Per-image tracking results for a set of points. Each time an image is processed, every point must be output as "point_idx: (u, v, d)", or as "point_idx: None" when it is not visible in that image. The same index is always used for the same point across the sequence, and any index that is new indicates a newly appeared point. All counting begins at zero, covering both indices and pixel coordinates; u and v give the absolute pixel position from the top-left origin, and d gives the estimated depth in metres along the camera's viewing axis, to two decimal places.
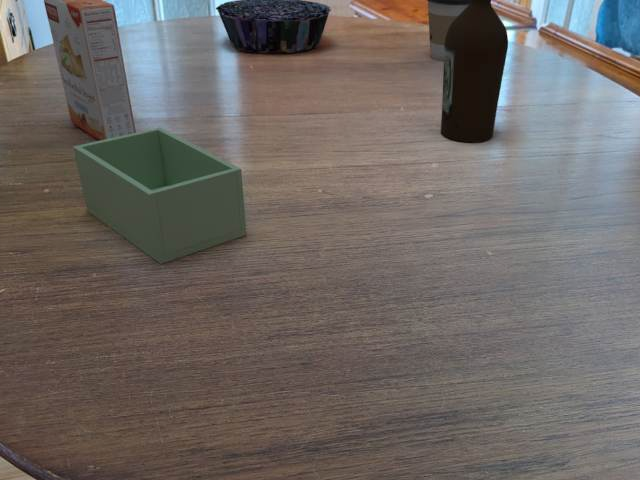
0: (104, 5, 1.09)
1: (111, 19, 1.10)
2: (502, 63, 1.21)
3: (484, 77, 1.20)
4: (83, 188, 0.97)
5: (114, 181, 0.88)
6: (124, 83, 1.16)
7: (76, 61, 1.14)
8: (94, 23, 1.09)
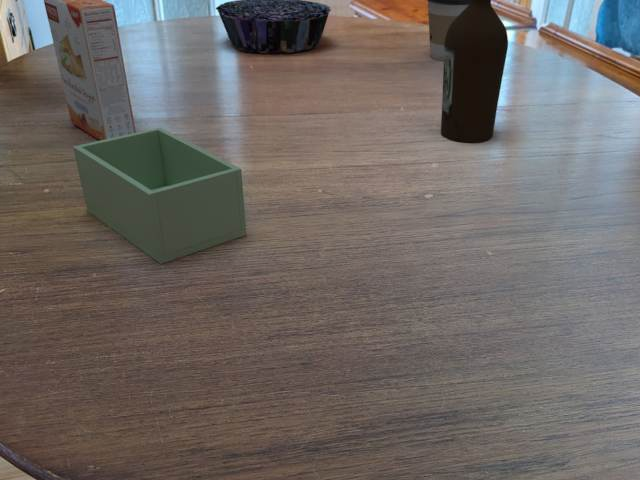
0: (104, 5, 1.09)
1: (111, 19, 1.10)
2: (502, 63, 1.21)
3: (484, 77, 1.20)
4: (83, 188, 0.97)
5: (114, 181, 0.88)
6: (124, 83, 1.16)
7: (76, 61, 1.14)
8: (94, 23, 1.09)
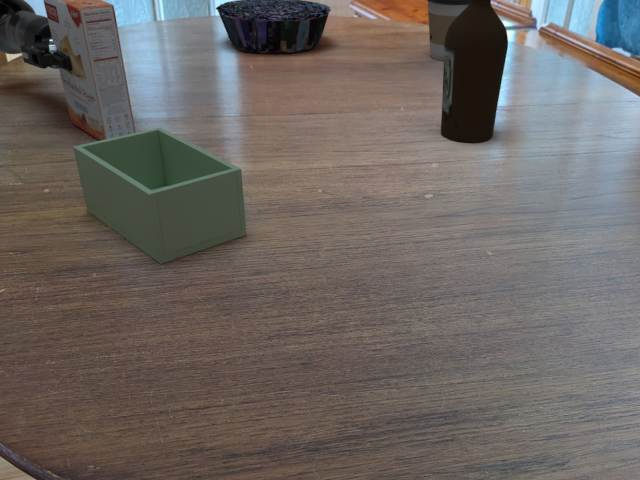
0: (104, 5, 1.09)
1: (111, 19, 1.10)
2: (502, 63, 1.21)
3: (484, 77, 1.20)
4: (83, 188, 0.97)
5: (114, 181, 0.88)
6: (124, 83, 1.16)
7: (76, 61, 1.14)
8: (94, 23, 1.09)
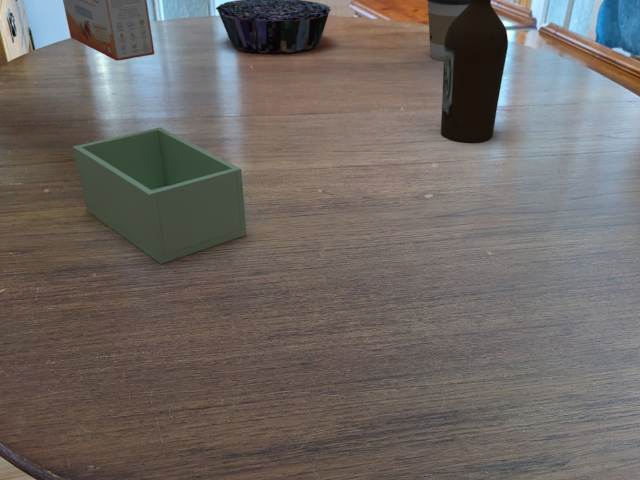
0: None
1: None
2: (502, 63, 1.21)
3: (484, 77, 1.20)
4: (83, 188, 0.97)
5: (114, 181, 0.88)
6: None
7: None
8: None
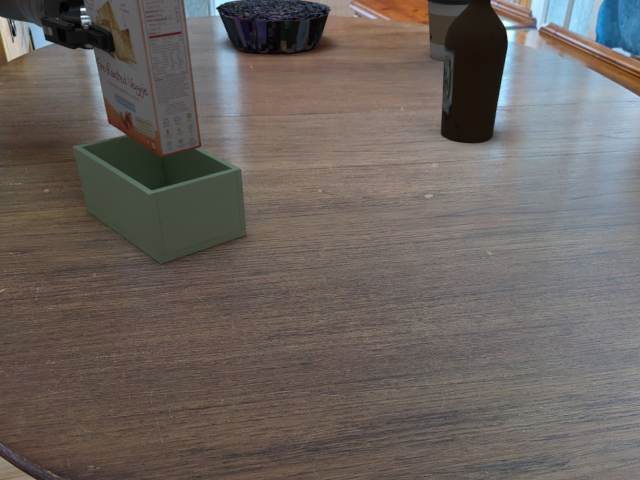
0: None
1: None
2: (502, 63, 1.21)
3: (484, 77, 1.20)
4: (83, 188, 0.97)
5: (114, 181, 0.88)
6: (188, 70, 0.82)
7: (121, 39, 0.80)
8: None
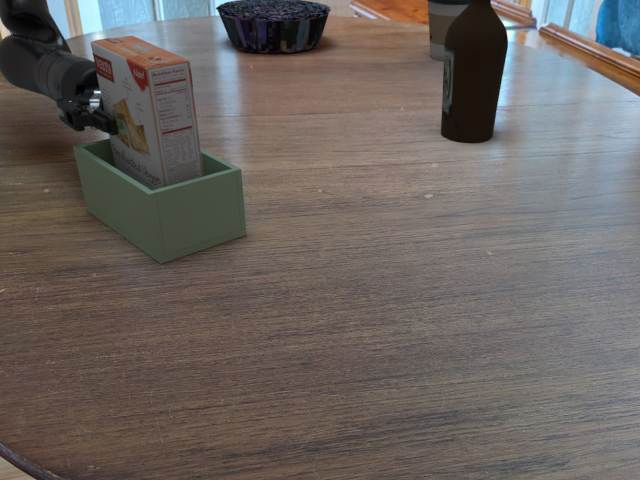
0: (177, 61, 0.81)
1: (186, 79, 0.82)
2: (502, 63, 1.21)
3: (484, 77, 1.20)
4: (83, 188, 0.97)
5: (114, 181, 0.88)
6: (198, 159, 0.88)
7: (136, 132, 0.86)
8: (164, 85, 0.81)
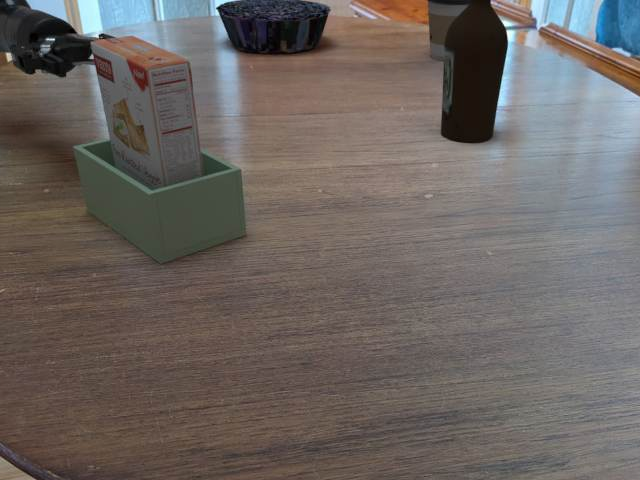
0: (177, 61, 0.81)
1: (186, 79, 0.82)
2: (502, 63, 1.21)
3: (484, 77, 1.20)
4: (83, 188, 0.97)
5: (114, 181, 0.88)
6: (198, 159, 0.88)
7: (136, 132, 0.86)
8: (164, 85, 0.81)
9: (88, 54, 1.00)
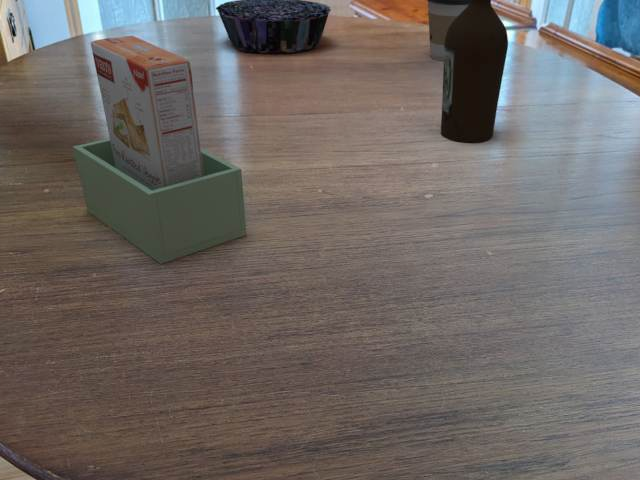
0: (177, 61, 0.81)
1: (186, 79, 0.82)
2: (502, 63, 1.21)
3: (484, 77, 1.20)
4: (83, 188, 0.97)
5: (114, 181, 0.88)
6: (198, 159, 0.88)
7: (136, 132, 0.86)
8: (164, 85, 0.81)
9: None
